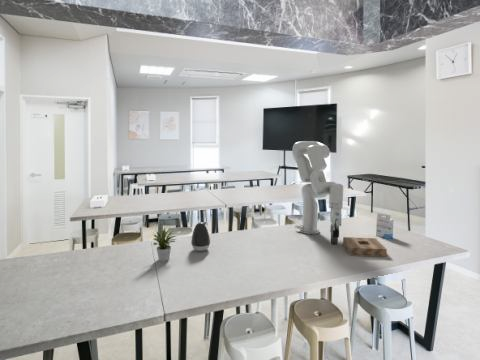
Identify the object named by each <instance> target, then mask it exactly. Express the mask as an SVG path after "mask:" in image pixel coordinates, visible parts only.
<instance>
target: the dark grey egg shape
mask: <svg viewBox="0 0 480 360" xmlns="http://www.w3.org/2000/svg"><path fill="white" fill-rule="evenodd" d="M206 225H207V222H206V221H204V222H198V223H196V224H195V226H194V228H193V231H192V234H191V240H190V241H191V242H190V243H191V246H192V249H194V251H196V252H205V251H207V250H208V249H209V247H210V245H211V237H210V233H209V231H208V228H207V226H206Z"/></svg>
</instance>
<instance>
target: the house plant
mask: <svg viewBox="0 0 480 360" xmlns="http://www.w3.org/2000/svg"><path fill="white" fill-rule="evenodd" d="M169 231H170V229H167V231H166V227H164V228H163V227H162V228H161V234H160V233H159V232H158V231H157V230H155V232H153V236H154V237H155V238H153V240H154V241H155V242H153V246H156V245H157V247H156V252H157V257H158V258H157V259H158V261H159V262H166V261H170V259H171V257H170V256H171V249H172V246H171V245H170V244H172V243H176V241H177V239H176V237H177V235H175V229H173V230H171V231H170V233H169ZM168 233H169V234H168ZM167 234H168V235H167Z"/></svg>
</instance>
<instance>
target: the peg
mask: <svg viewBox="0 0 480 360" xmlns="http://www.w3.org/2000/svg"><path fill="white" fill-rule="evenodd" d="M330 230H331V232H330V244H331V245H339V238H337V237H333V230H334V226H333V225H332V224H331V223H330Z"/></svg>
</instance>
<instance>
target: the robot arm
mask: <svg viewBox="0 0 480 360" xmlns="http://www.w3.org/2000/svg"><path fill="white" fill-rule="evenodd" d="M291 152H292V157H293V159H294V160H295V163H296V166H297V170H298V174H299V178H300V181H301V182H302V183H307V184H304V185H303V186H302V187H301V198H302V220H301V221H302V222H301V224H295V225H294V228H296V229H299V232H300V233H303V234H305V235H317V234H319V233H320V229H318V212H319V211H318V209H319V205H318V203H317V201H316V200H317V199H321V198H326V197H328V208H329V209H330V213H329V217H330V218H329V222H330V225H331V224H332V225H333V226H334V230H333V237H337V238H338V239H339V237H340V227H341V226H342V210H343V205H344V204H343V203H344V202H343V201H344V185H343V184H342V183H337V182H335V181H327V179H326V176H325V173H324V170H325V169H326V168H327V166H328V165H327V162H326V160H325V159H327V158H329V156H330V147H328V145H326V144H324V143H321V142H319V141H315V140H311V141H309V140H303V141H297V142H295V143H294V144H293V146H292V150H291ZM306 155H307V156H306ZM330 233H331V229H330Z"/></svg>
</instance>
